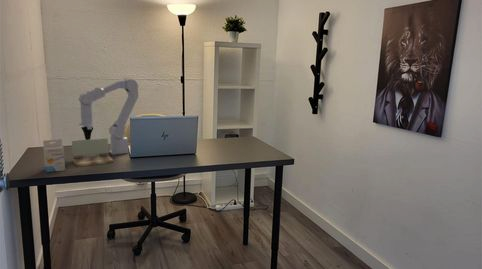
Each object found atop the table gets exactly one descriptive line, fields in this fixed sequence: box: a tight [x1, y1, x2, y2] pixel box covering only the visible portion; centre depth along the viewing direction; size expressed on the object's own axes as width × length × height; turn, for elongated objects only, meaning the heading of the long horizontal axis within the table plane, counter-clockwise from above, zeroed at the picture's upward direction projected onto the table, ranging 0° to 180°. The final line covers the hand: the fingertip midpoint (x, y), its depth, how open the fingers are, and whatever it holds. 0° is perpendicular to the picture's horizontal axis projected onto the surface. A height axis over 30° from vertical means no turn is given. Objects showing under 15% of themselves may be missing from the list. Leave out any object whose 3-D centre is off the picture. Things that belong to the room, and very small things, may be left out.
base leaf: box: [72, 152, 114, 167], centre depth 191 cm, size 18×11×3 cm, turn 123°
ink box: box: [43, 138, 66, 173], centre depth 174 cm, size 8×5×15 cm, turn 123°
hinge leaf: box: [71, 137, 109, 158], centre depth 195 cm, size 18×10×2 cm
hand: (87, 139), depth 200 cm, fingers closed
